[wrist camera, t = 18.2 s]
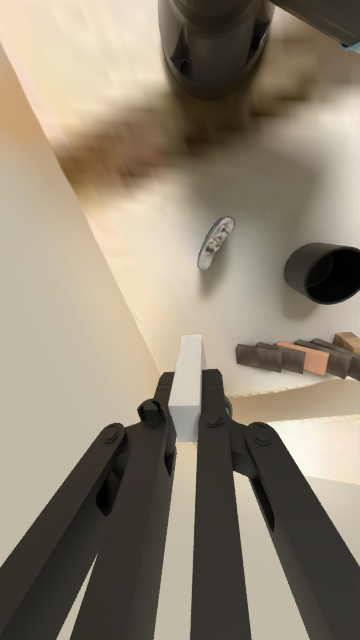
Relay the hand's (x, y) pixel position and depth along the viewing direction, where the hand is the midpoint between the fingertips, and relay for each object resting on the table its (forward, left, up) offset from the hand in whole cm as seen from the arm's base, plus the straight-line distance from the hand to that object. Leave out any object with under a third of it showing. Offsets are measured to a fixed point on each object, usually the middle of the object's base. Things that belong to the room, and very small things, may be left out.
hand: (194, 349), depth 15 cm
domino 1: (+22, +7, -29) cm, 37 cm away
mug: (+2, +23, -30) cm, 38 cm away
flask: (-6, +3, -30) cm, 30 cm away
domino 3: (+22, +16, -29) cm, 40 cm away
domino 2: (+22, +12, -29) cm, 38 cm away
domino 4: (+22, +21, -29) cm, 42 cm away
